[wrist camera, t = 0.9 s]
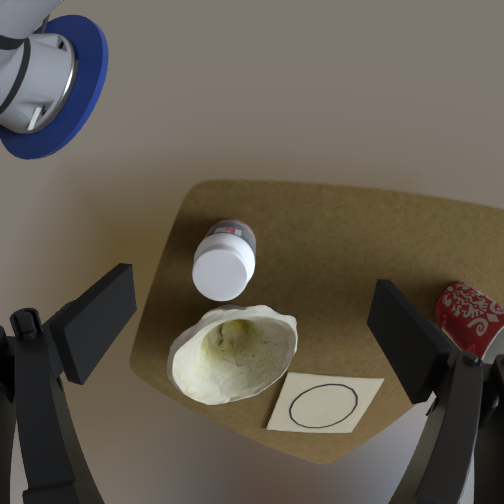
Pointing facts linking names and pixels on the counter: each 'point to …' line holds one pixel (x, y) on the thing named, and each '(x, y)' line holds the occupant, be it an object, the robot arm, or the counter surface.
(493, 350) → the mug
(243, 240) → the pill bottle
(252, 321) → the bowl
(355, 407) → the beige flat square sheet
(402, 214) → the counter surface
